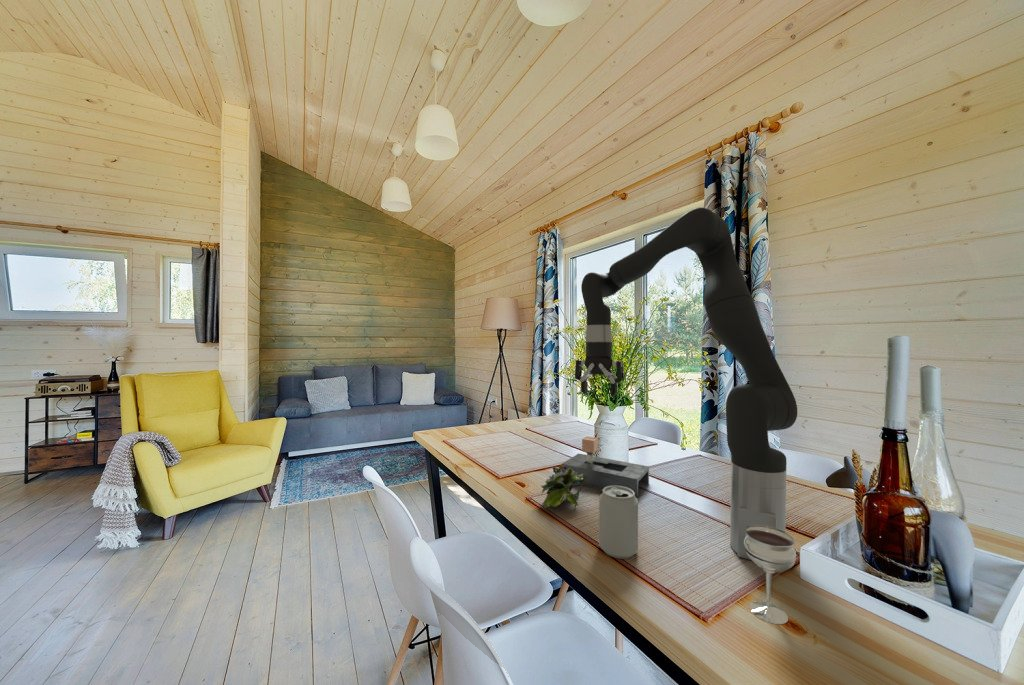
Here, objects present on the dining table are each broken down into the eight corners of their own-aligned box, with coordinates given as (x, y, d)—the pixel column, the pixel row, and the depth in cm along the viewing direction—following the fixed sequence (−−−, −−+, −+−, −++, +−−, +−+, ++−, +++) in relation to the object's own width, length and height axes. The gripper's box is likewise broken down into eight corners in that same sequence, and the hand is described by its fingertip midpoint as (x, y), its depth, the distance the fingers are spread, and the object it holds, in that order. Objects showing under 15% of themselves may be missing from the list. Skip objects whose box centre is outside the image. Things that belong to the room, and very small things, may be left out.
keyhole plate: (637, 498, 102) (637, 479, 102) (561, 480, 114) (561, 463, 114) (648, 483, 112) (649, 466, 112) (578, 468, 124) (578, 453, 124)
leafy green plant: (559, 518, 102) (574, 475, 107) (587, 528, 93) (602, 480, 97) (527, 501, 98) (545, 456, 103) (553, 509, 89) (571, 460, 94)
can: (617, 565, 72) (617, 501, 72) (591, 545, 79) (591, 487, 78) (646, 554, 75) (646, 493, 75) (619, 536, 82) (619, 481, 82)
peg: (594, 482, 112) (594, 441, 112) (580, 479, 115) (580, 439, 115) (599, 478, 116) (599, 438, 116) (585, 475, 118) (586, 435, 118)
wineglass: (776, 634, 55) (777, 551, 55) (733, 604, 61) (733, 529, 61) (805, 620, 58) (807, 541, 58) (761, 592, 64) (762, 521, 64)
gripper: (571, 340, 115) (571, 395, 115) (618, 340, 107) (618, 398, 107) (581, 340, 121) (581, 392, 121) (626, 340, 114) (626, 395, 114)
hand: (598, 395), depth 114 cm, fingers open, 8 cm apart
